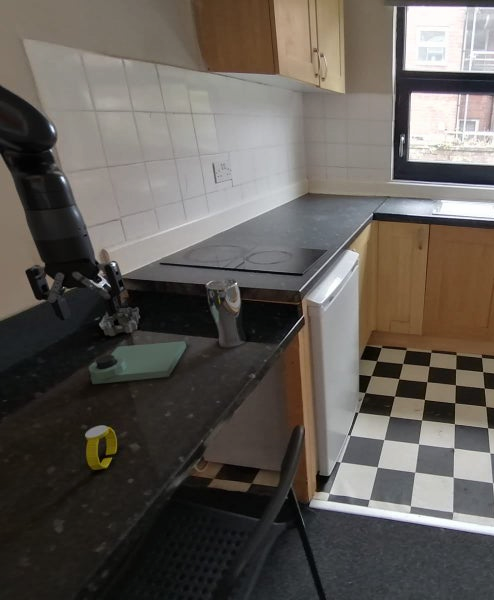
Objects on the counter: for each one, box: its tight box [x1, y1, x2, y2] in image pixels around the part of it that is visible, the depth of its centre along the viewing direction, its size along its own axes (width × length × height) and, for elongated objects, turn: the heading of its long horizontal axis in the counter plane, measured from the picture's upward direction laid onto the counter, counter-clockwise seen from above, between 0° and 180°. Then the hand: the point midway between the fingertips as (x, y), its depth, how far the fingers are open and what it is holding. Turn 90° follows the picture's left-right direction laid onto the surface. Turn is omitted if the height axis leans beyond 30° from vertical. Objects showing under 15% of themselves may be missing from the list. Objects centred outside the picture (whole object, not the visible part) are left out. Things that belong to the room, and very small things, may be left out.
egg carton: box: [98, 306, 141, 337], centre depth 102 cm, size 11×8×4 cm
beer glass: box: [205, 277, 247, 348], centre depth 92 cm, size 7×7×15 cm
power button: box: [95, 354, 116, 369], centre depth 80 cm, size 3×3×2 cm
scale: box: [88, 341, 187, 385], centre depth 85 cm, size 14×13×4 cm
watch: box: [84, 424, 118, 471], centre depth 61 cm, size 6×3×6 cm, turn 13°
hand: (90, 316), depth 76 cm, fingers open, 7 cm apart
